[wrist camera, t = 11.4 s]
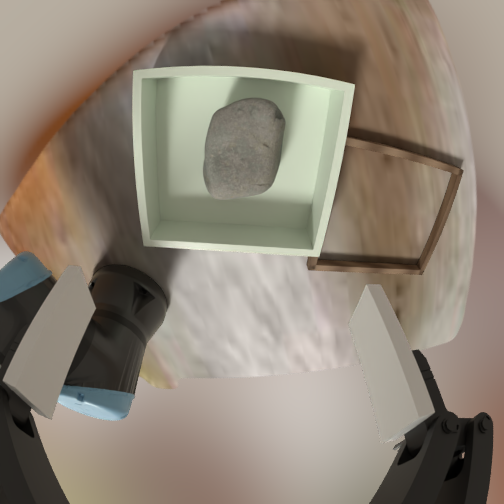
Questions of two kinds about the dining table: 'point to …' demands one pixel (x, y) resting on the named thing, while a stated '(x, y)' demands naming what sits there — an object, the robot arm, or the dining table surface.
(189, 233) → the bin
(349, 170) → the dining table surface
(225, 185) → the stone
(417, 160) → the frame
